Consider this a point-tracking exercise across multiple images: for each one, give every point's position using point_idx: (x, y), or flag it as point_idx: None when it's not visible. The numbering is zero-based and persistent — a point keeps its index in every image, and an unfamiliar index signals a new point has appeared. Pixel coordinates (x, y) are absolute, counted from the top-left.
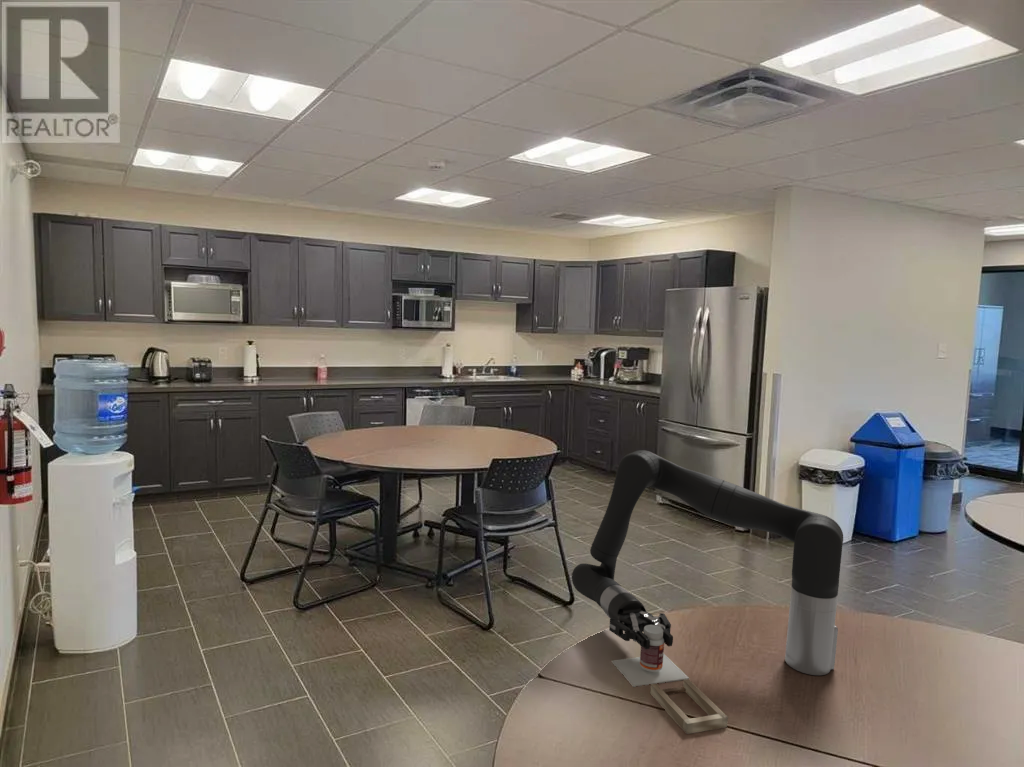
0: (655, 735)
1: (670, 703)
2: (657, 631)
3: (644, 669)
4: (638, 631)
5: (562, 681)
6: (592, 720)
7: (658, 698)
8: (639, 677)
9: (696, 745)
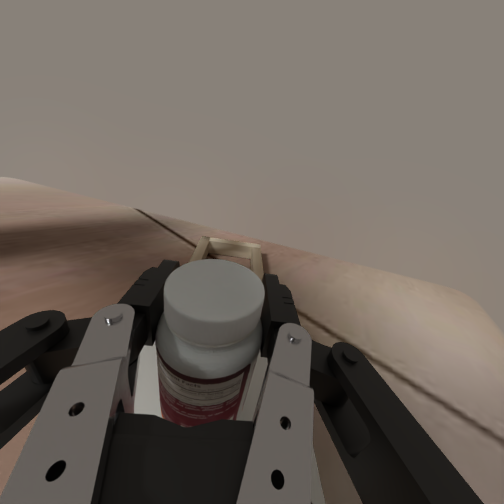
0: (294, 265)
1: (260, 266)
2: (215, 266)
3: None
4: (286, 325)
5: (496, 441)
6: (376, 302)
7: None
8: (262, 375)
9: None
